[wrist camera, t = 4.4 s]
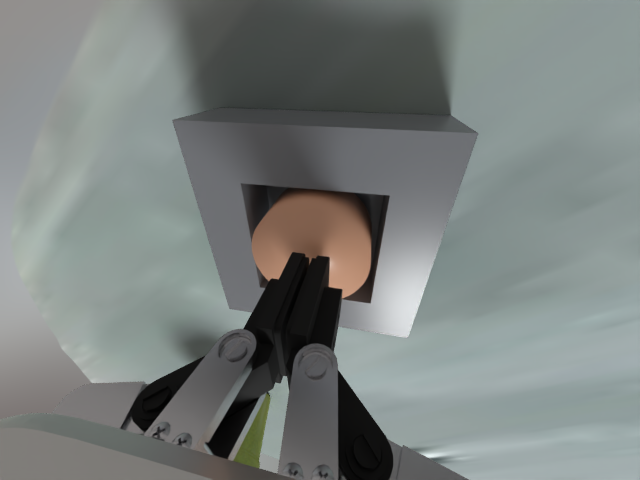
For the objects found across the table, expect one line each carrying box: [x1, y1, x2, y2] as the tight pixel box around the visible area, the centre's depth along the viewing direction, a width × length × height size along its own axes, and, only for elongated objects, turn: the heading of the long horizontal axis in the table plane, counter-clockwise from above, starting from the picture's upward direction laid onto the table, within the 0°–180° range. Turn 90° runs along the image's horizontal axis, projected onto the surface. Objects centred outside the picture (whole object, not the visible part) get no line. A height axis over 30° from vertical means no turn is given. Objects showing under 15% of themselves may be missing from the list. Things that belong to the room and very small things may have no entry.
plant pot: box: [233, 394, 270, 468], centre depth 31 cm, size 9×9×9 cm
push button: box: [252, 187, 372, 298], centre depth 14 cm, size 6×6×3 cm
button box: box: [172, 108, 478, 338], centre depth 15 cm, size 12×12×4 cm
